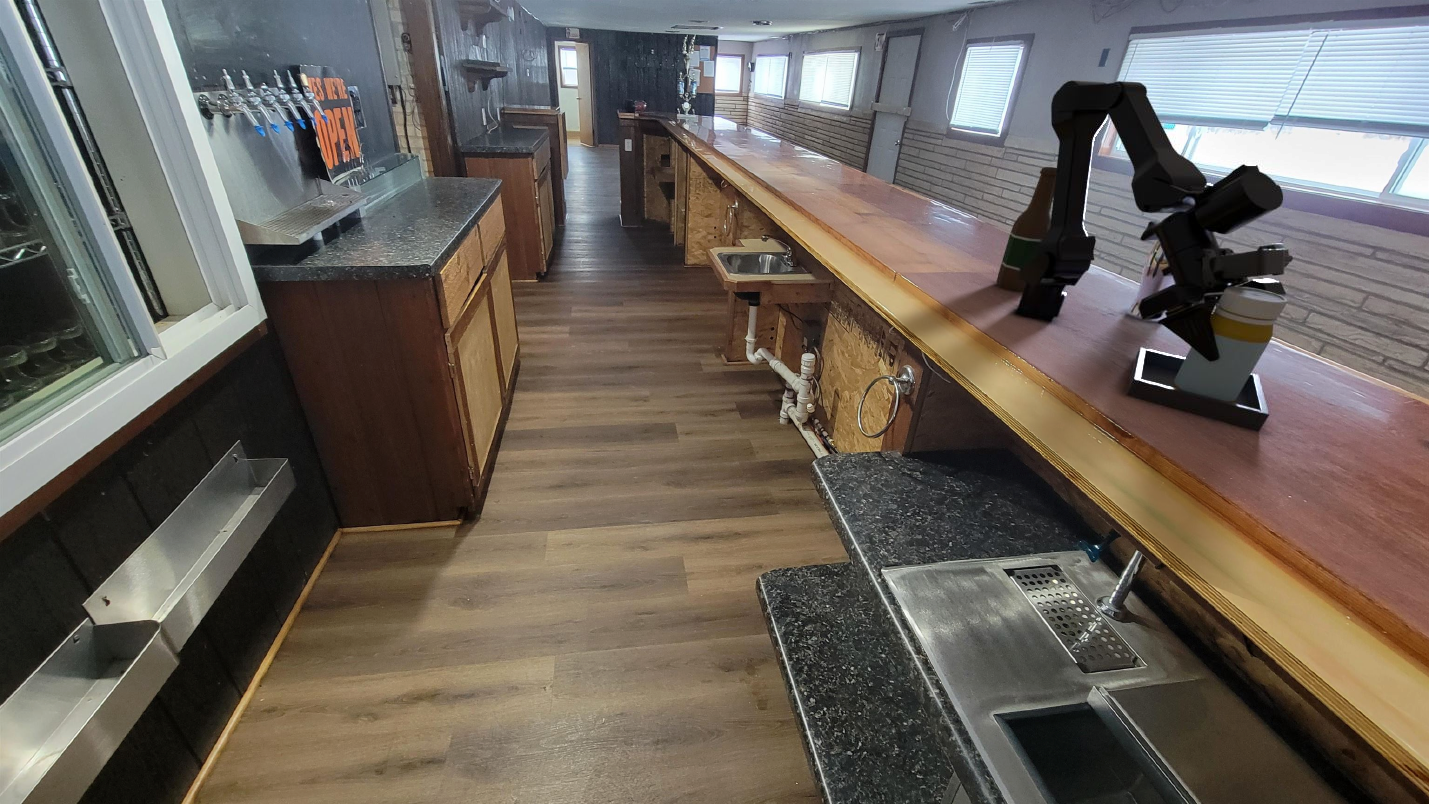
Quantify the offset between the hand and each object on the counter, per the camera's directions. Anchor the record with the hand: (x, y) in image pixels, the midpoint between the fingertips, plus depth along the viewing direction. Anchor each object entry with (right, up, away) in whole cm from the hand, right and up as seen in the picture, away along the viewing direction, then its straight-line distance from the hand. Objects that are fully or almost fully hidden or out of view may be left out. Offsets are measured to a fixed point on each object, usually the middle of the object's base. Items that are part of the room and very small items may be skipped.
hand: (1233, 358), depth 74 cm
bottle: (-1, -5, +5) cm, 7 cm away
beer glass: (+14, +11, +34) cm, 39 cm away
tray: (0, -4, +7) cm, 8 cm away
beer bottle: (-4, +19, +48) cm, 52 cm away
